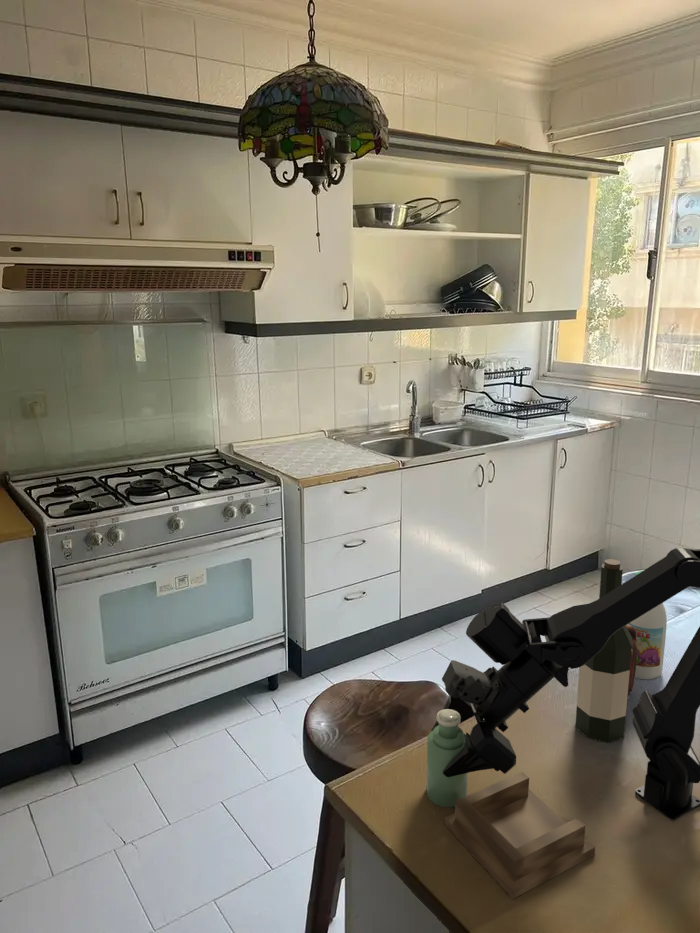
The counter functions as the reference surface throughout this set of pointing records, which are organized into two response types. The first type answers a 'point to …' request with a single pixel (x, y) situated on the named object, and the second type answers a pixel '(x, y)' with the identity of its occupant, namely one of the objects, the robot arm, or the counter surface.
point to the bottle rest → (517, 835)
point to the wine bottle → (606, 676)
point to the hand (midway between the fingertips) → (438, 753)
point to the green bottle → (445, 760)
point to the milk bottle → (650, 642)
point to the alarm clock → (632, 658)
